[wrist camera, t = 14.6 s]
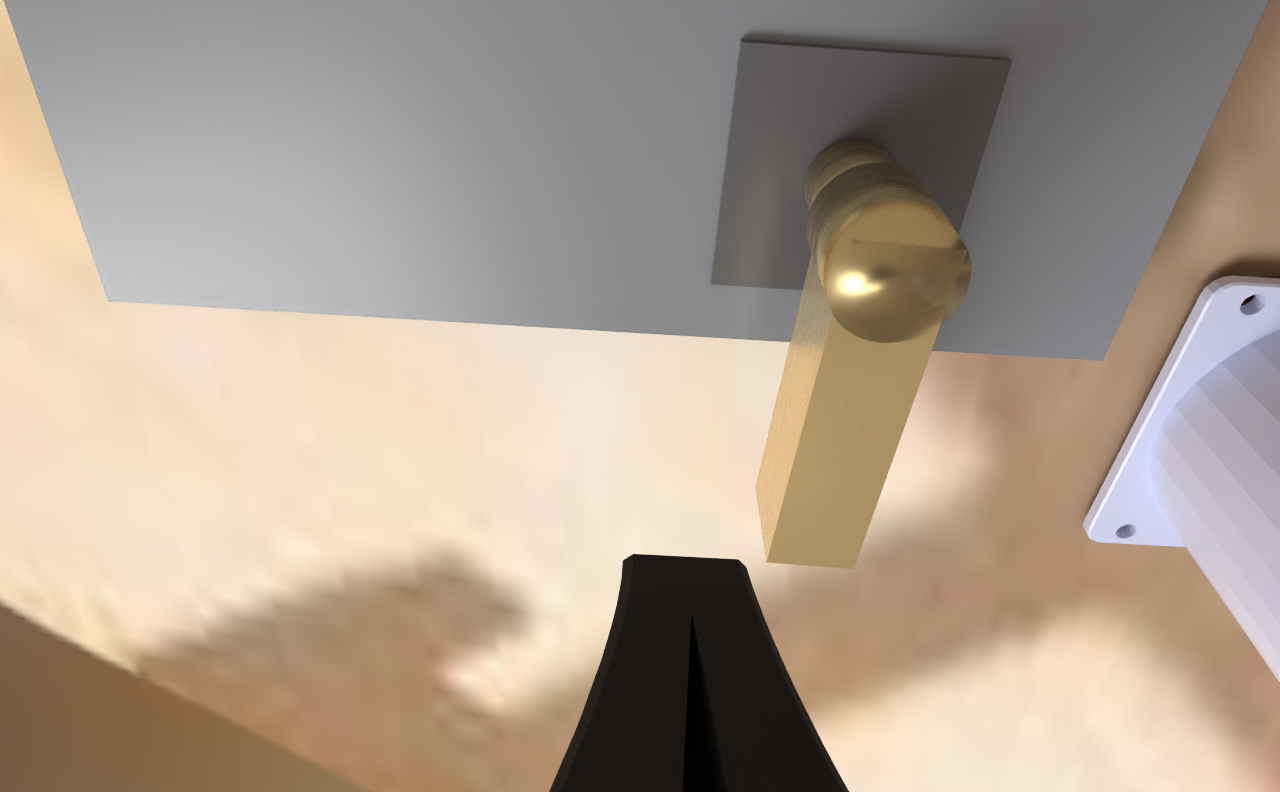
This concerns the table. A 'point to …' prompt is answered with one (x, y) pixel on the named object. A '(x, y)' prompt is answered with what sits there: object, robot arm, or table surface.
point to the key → (854, 350)
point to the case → (621, 151)
